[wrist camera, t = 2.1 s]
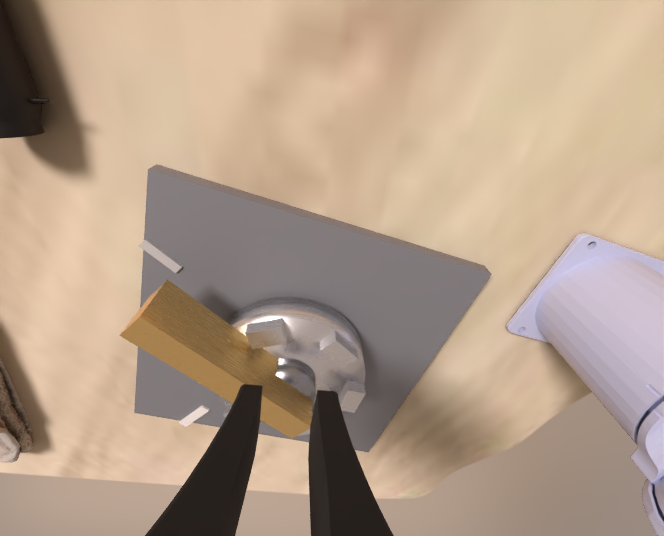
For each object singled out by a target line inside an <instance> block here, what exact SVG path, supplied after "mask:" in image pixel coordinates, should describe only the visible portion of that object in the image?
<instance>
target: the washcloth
mask: <svg viewBox="0 0 664 536" xmlns="http://www.w3.org/2000/svg"><path fill="white" fill-rule="evenodd" d="M19 413H20V414H19ZM27 421H28V418H27V415H26V412H25V410H24V407H23V405H22V403H21V401H20V399H19V397H18V394H17V392H16V390H15V388H14V386H13V383H12V381H11V379H10V377H9V375H8V372H7V370H6V368H5V366H4V364H3V362H2V360H1V358H0V462H4V463H5V462H15V461H17V459H18V458H19V454H20V452H28V451H30V450H31V448H32V446H33V445H32V440H31V438H32V437H30V435H31V431H32V430H31V428H29V427H27V426H29V423H28V422H27Z"/></svg>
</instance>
